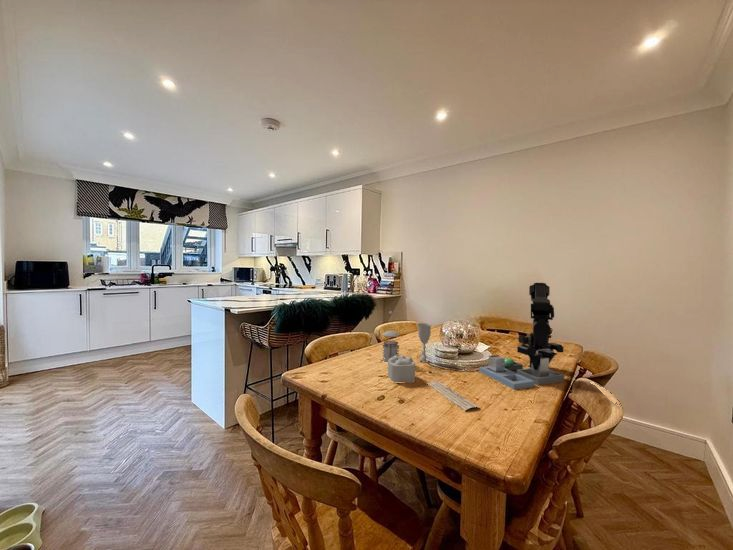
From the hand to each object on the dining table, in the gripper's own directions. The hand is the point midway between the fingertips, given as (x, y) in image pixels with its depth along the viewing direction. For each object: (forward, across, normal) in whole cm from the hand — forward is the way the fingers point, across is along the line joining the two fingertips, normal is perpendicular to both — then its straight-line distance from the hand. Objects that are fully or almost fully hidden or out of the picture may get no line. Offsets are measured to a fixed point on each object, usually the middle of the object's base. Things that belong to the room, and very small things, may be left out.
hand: (539, 369), depth 125 cm
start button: (+3, +3, -14) cm, 15 cm away
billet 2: (+3, 0, 0) cm, 3 cm away
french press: (+4, +51, -38) cm, 64 cm away
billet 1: (+4, +14, -9) cm, 17 cm away
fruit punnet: (+5, +54, -19) cm, 58 cm away
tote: (+4, 0, 0) cm, 4 cm away
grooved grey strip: (+5, +44, +3) cm, 44 cm away
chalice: (+4, +34, -36) cm, 50 cm away
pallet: (+4, +14, -4) cm, 15 cm away
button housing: (+4, +3, -14) cm, 15 cm away
